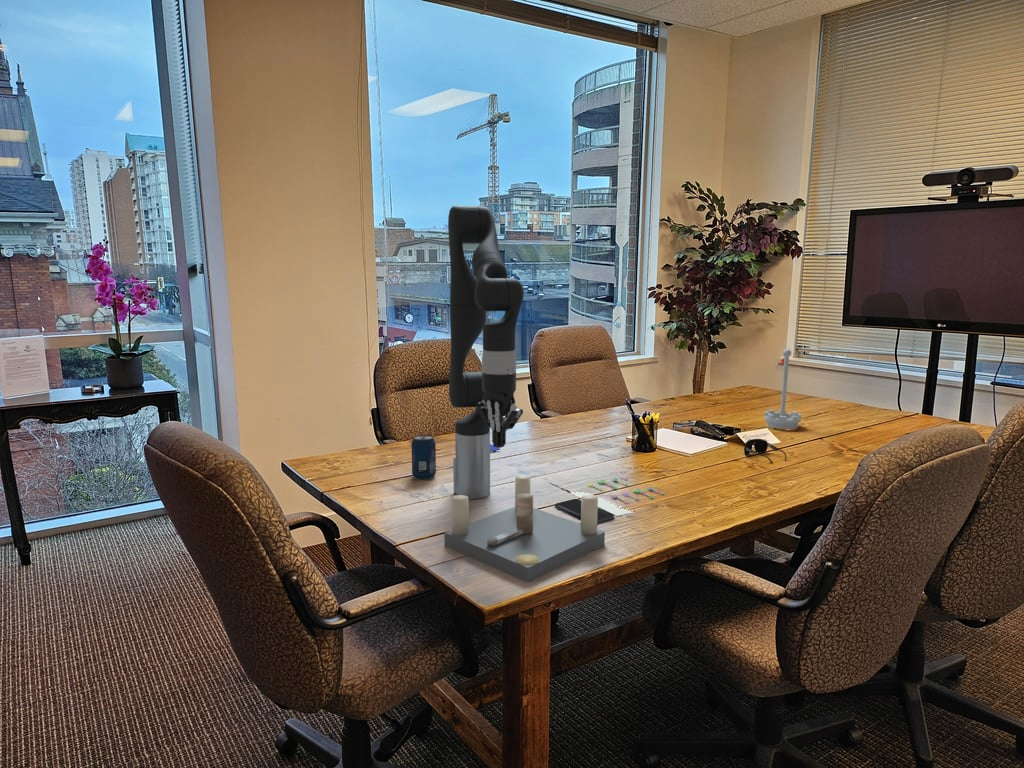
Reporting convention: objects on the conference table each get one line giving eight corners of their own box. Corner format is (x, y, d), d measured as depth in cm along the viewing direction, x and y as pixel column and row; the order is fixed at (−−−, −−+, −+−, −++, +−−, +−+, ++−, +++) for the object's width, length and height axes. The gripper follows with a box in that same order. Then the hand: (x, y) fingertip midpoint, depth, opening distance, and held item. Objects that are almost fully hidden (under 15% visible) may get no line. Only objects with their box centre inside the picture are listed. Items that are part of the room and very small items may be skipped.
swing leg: (494, 547, 140) (494, 511, 138) (482, 542, 142) (482, 507, 141) (536, 530, 149) (536, 496, 147) (524, 526, 151) (524, 492, 150)
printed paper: (549, 483, 192) (549, 478, 192) (630, 470, 207) (631, 465, 207) (616, 517, 167) (617, 511, 166) (704, 498, 182) (704, 493, 182)
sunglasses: (762, 451, 226) (765, 437, 224) (790, 465, 215) (793, 450, 214) (738, 454, 221) (741, 440, 220) (766, 469, 211) (768, 454, 210)
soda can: (413, 473, 200) (412, 434, 198) (437, 473, 200) (436, 434, 198) (410, 480, 194) (409, 440, 191) (434, 480, 194) (434, 440, 191)
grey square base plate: (444, 545, 149) (443, 497, 147) (522, 515, 167) (522, 472, 165) (527, 582, 132) (528, 528, 130) (604, 544, 150) (605, 497, 148)
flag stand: (806, 430, 253) (812, 351, 248) (771, 431, 253) (777, 351, 247) (791, 422, 266) (797, 347, 260) (758, 422, 265) (763, 347, 260)
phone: (592, 522, 161) (553, 503, 173) (591, 526, 161) (553, 508, 173) (616, 515, 165) (576, 498, 177) (616, 519, 165) (576, 502, 178)
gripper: (465, 368, 150) (466, 444, 153) (508, 375, 141) (508, 455, 144) (490, 365, 155) (490, 438, 158) (532, 371, 146) (532, 449, 149)
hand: (499, 446), depth 151 cm, fingers closed
